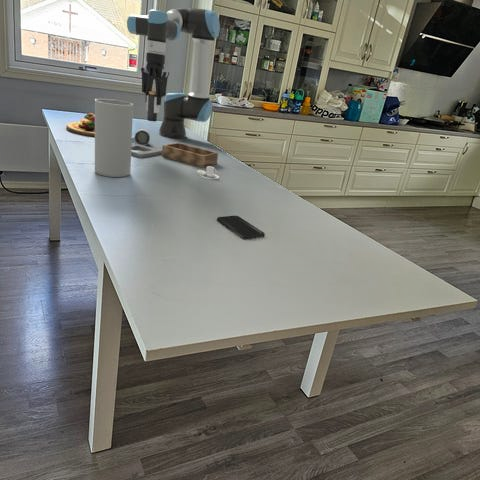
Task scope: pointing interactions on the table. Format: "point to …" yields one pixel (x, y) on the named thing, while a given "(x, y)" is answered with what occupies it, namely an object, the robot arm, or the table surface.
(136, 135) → the ceramic mug
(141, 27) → the robot arm
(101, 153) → the cylinder vase
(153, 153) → the grey flat square frame
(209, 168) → the teacup and saucer
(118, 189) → the table surface
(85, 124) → the wooden plate with food
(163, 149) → the walnut trough
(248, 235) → the phone
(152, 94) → the battery cell
